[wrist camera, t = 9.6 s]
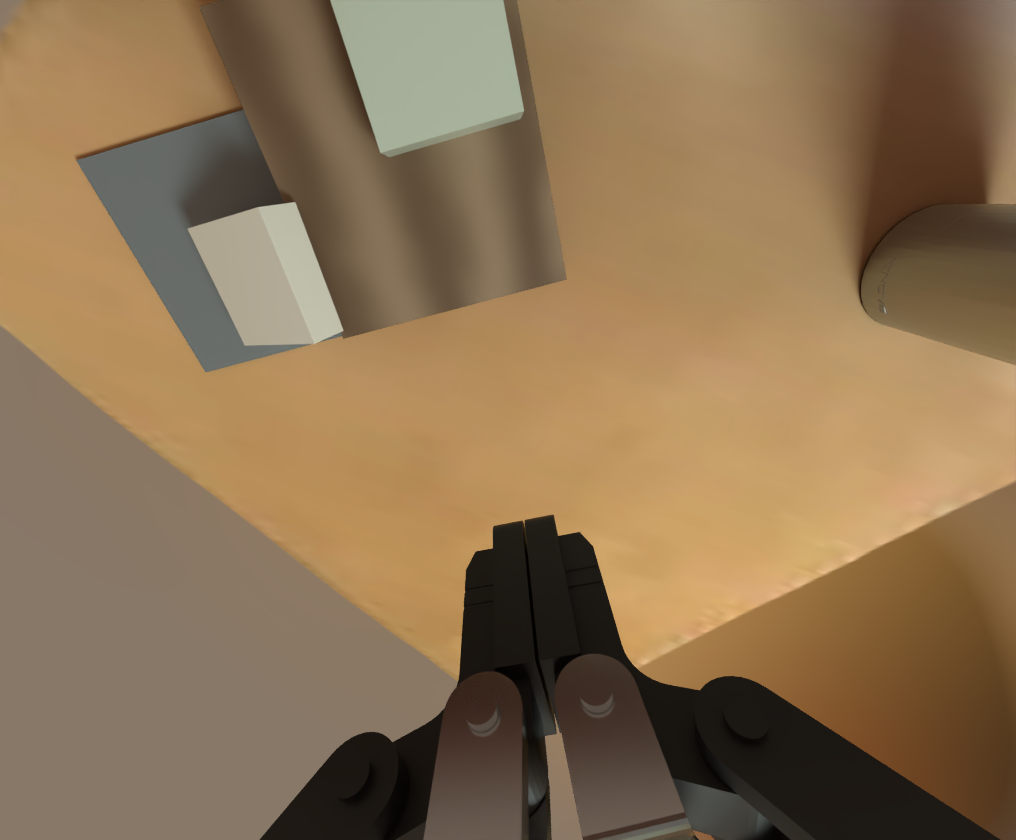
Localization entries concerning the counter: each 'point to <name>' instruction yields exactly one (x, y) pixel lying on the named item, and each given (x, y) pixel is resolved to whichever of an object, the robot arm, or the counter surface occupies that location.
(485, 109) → the sage tile
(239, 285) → the cream tile
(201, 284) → the grey mat
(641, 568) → the counter surface
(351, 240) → the walnut board
